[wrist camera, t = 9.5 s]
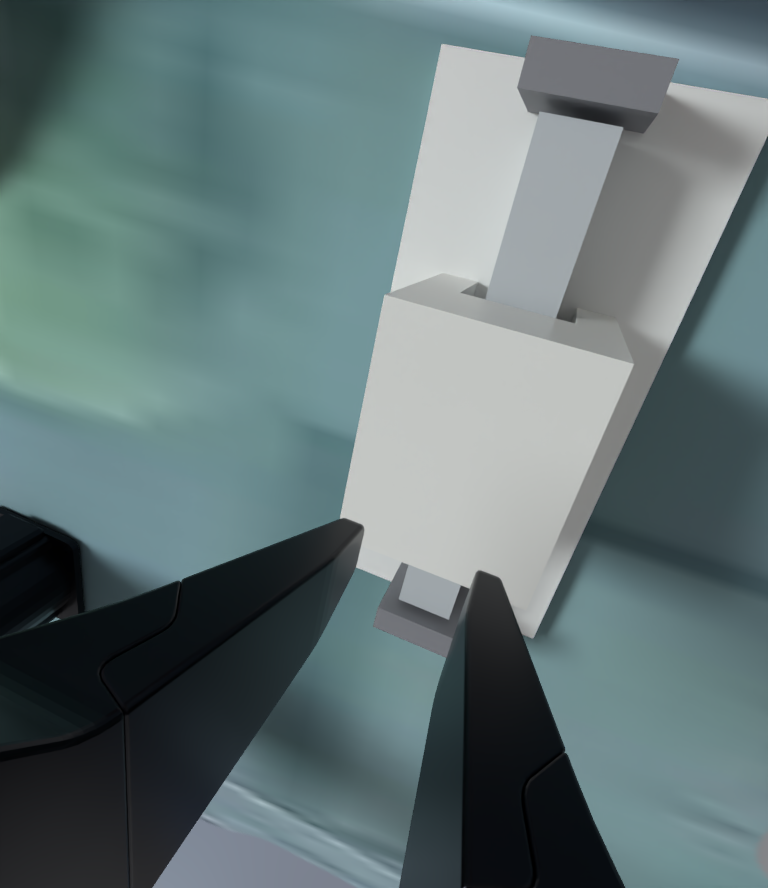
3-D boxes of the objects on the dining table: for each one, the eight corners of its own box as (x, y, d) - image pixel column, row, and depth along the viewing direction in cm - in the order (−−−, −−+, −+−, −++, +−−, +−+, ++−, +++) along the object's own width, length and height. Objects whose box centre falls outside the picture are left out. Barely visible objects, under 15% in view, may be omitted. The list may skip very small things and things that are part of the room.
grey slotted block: (542, 505, 19) (529, 611, 14) (398, 455, 20) (336, 536, 15) (618, 319, 16) (639, 365, 11) (443, 272, 17) (384, 294, 12)
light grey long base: (534, 629, 22) (526, 696, 19) (340, 551, 24) (305, 601, 21) (775, 106, 14) (835, 71, 10) (446, 49, 15) (412, 5, 12)
